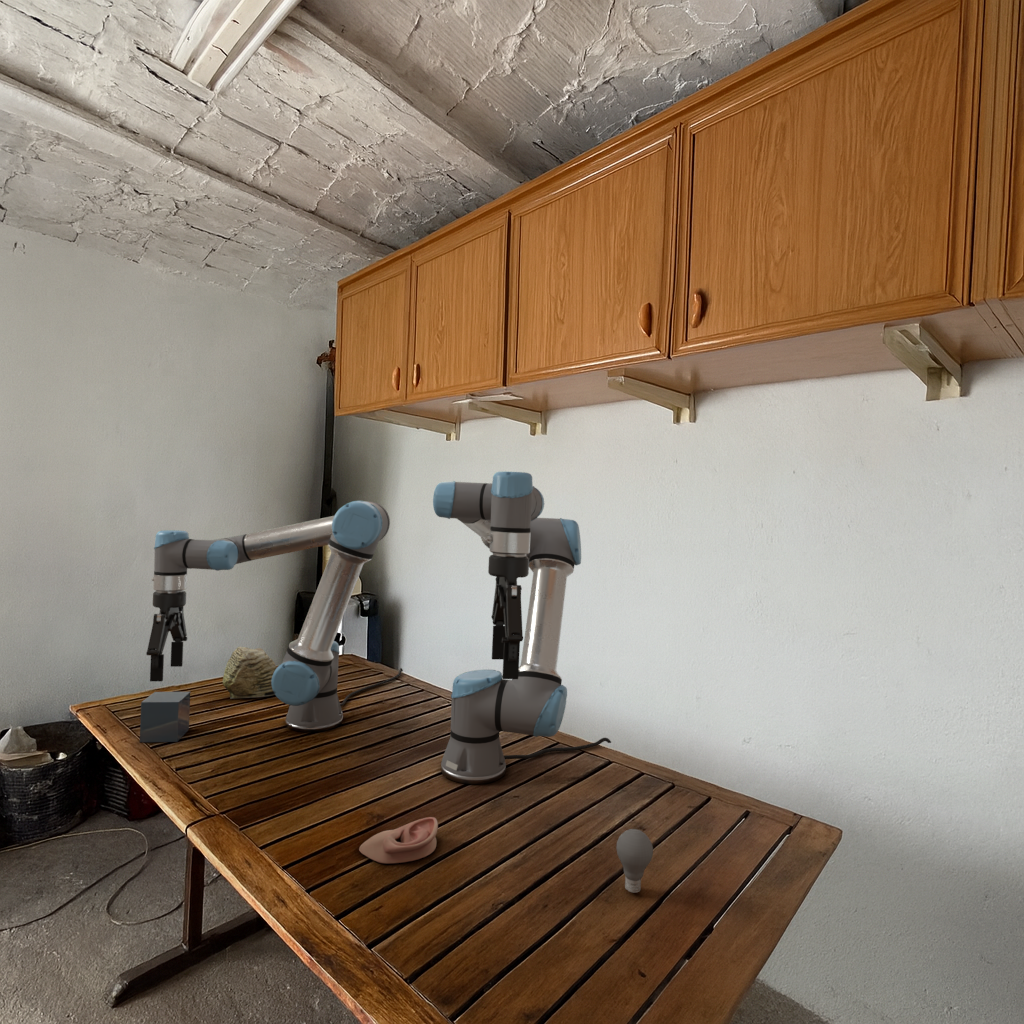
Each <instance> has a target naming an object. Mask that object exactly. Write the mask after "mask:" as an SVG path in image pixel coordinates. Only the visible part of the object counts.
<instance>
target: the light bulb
mask: <svg viewBox="0 0 1024 1024" xmlns="http://www.w3.org/2000/svg"><path fill="white" fill-rule="evenodd" d="M615 849H616V854H617V857H618V859H619V861H620V863H621V865H622V867H623V873H624V874H623V875H624V876H625V878H624V888H625V890H627V891H628V892H630V893H634V894H635V893H639V892H640V891H641V889H642V887H641V886H642V879H643V877H644V875H645V871H646V868H647V867H648V866H649V864H650V863H651V861H652V859H653V855H654V847H653V843H652V841H651V838H649V836H648V835H647V834H646V833H645V832H643V831H642V830H641V829H636V828H629V829H627V830H625V831H623V832H622V833H621V834H620V835H619V837H618V839H617V841H616V847H615Z"/></svg>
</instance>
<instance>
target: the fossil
mask: <svg viewBox="0 0 1024 1024" xmlns="http://www.w3.org/2000/svg"><path fill="white" fill-rule="evenodd" d="M276 668H277V665H276V663H275V662H274V660H273V659H272V658H271V657H270V656H269V655H268V654H267V653H266V652H265V650H264V649H263V648H260V647H258V648H251V647H247V646H246V647H245V646H238V647H237V648H236V649H235V650H233V651H232V653H231V656H230V657H229V659H228V660H227V663H226V666H225V668H224V671H223V675H222V676H223V677H222V685H223V687H224V688H225V690H226V691H228V693H229V698H230V699H250V698H264V697H271V696H276V695H275V693H274V691H273V689H272V684H271V681H272V676H273V673H274V672H275V670H276Z"/></svg>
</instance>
